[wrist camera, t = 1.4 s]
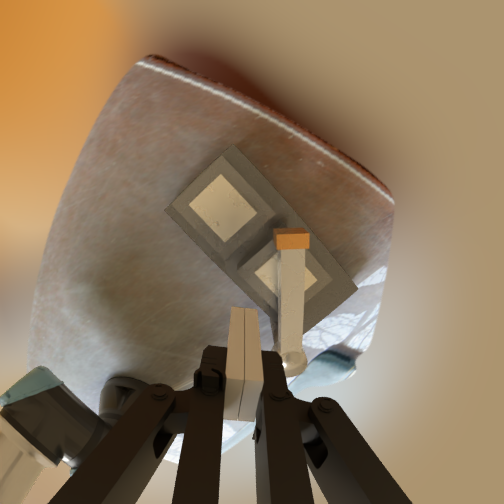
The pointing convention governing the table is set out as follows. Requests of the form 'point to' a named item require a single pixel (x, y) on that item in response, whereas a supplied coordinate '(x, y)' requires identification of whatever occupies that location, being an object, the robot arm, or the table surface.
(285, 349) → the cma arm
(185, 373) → the table surface
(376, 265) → the table surface
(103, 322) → the table surface
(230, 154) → the grey stepped block base
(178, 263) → the table surface
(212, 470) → the robot arm
